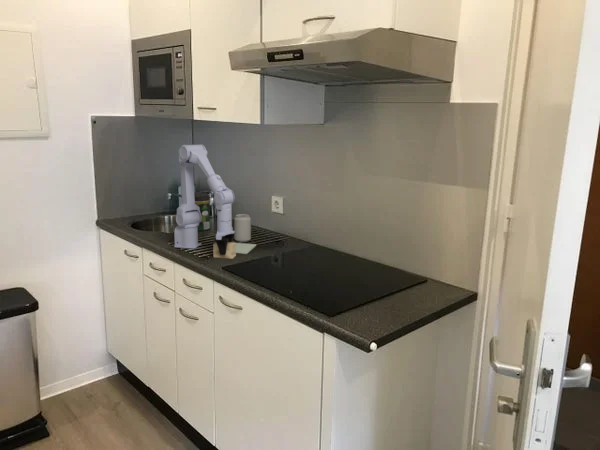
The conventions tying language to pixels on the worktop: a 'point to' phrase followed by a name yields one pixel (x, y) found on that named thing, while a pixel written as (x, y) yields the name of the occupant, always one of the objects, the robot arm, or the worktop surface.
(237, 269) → the worktop surface
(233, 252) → the birch block
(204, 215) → the coffee jar
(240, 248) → the rubber mat
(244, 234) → the can
